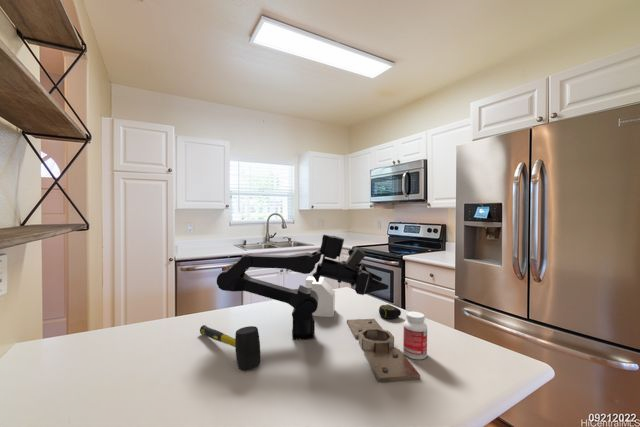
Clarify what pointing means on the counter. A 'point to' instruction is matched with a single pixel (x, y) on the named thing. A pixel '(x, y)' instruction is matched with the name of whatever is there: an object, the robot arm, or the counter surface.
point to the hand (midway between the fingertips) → (384, 283)
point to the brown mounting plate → (382, 352)
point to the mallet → (240, 345)
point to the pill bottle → (415, 336)
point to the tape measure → (389, 311)
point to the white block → (322, 297)
